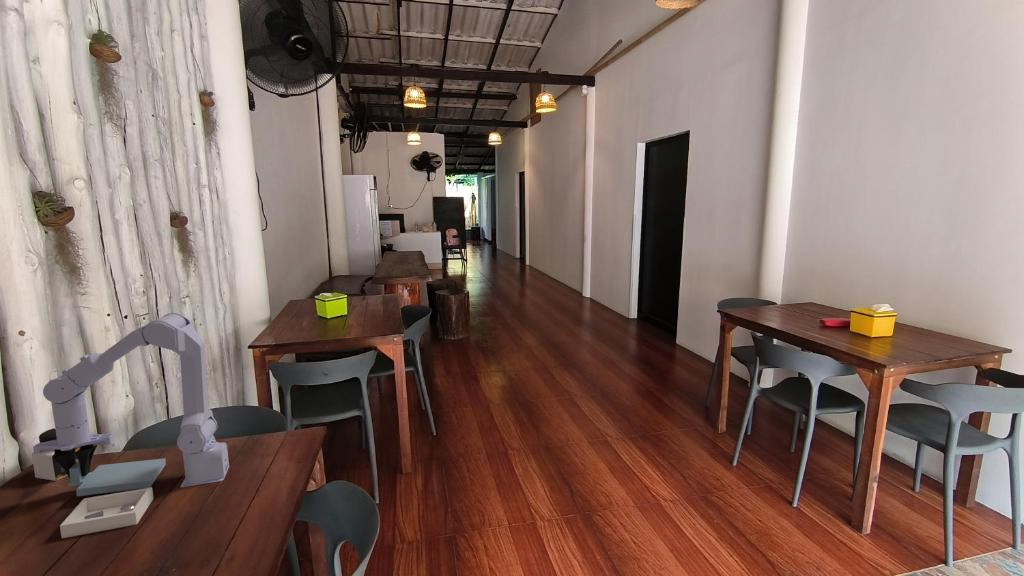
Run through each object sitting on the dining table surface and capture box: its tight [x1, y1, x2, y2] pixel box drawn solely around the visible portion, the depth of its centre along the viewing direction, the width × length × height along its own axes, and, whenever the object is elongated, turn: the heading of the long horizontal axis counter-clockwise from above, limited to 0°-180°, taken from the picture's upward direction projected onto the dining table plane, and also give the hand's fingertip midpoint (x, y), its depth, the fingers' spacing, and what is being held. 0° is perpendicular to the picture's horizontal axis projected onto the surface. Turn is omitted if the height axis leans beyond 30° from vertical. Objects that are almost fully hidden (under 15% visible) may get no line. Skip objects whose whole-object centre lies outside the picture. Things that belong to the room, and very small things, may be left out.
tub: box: [59, 486, 154, 539], centre depth 103 cm, size 13×10×4 cm
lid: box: [67, 457, 167, 497], centre depth 114 cm, size 17×11×5 cm, turn 111°
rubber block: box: [85, 511, 104, 519], centre depth 102 cm, size 3×2×2 cm, turn 131°
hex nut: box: [120, 503, 136, 513], centre depth 105 cm, size 3×3×1 cm
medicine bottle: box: [31, 427, 81, 482], centre depth 121 cm, size 7×7×12 cm
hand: (79, 475), depth 112 cm, fingers closed on lid
